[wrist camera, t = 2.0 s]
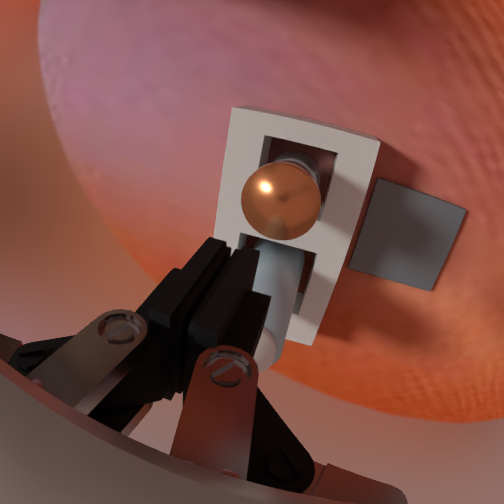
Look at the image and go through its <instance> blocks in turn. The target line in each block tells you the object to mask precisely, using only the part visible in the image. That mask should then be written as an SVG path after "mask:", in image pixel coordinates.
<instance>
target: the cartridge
mask: <svg viewBox="0 0 504 504" xmlns="http://www.w3.org/2000/svg"><path fill="white" fill-rule="evenodd" d="M253 249H256V250H260V256H259V261H258V266H257V271H256V275H255V280H254V285H253V290H252V291H255V292H259V293H262V294H266V295H269V296H272V297H271V302H270V306H269V309H268V313H267V317H266V321H265V324H264V327H263V331H262V334H261V337H260V340H259V343H258V346H257V349H256V352H255V355H254V360H255V362H256V364H257V365H258V372H261V371H264V370H266V369H267V368H269V367H270V366H271V365H273V364H274V363H275V362H276V361H277V360H278V359H279V358H280V356H281V353H282V349H283V345H284V342H285V338H286V334H287V330H288V326H289V323H290V319H291V315H292V311H293V307H294V303H295V299H296V295H297V291H298V287H299V283H300V279H301V275H302V270H303V266H304V262H305V255H304V251H303V249H300V248H296V247H292V246H289V245H285V244H281V243H278V242H274V241H270V240H267V239H263V238H260V239H259V240H258V241H257V242H256V243H255V245H254V247H253Z"/></svg>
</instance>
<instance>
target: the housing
mask: <svg viewBox="0 0 504 504" xmlns="http://www.w3.org/2000/svg"><path fill="white" fill-rule="evenodd" d="M272 137H276V138H281V139H285V140H289V141H294V142H298V143H302V144H306V145H310V146H314V147H318V148H322V149H325V150H329V151H333V152H337V154H336V158H335V162H334V166H333V170H332V174H331V177H330V181H329V185H328V189H327V193H326V196H325V200H324V204H323V206H320V211H319V215H318V218H317V220H316V222H315V224H314V225H313V227H312V228H311V229H310V230H309V231H308V232H307V233H305V234H304V235H302V236H300V237H298V238H295V239H292V240H274V239H271V238H268V237H265V236H263V235H261V234H260V233H258V232H257V231H256V230H255V229H254V228H253V227H252V226H251V225H250V224H249V223H248V221H247V220H246V218H245V216H244V214H243V211H242V206H241V194H242V189H243V187H244V184H245V183H246V181H247V180H248V178H249V177H250V176H251V175H252V174H253V173H254V172H255V171H256V170H257V169H259V168H260V167H262V166H264V165H266V164H267V162H268V157H269V151H270V146H271V141H272ZM380 143H381V142H380V141H379V140H378V139H377V138H376V137H375V136H372V135H368V134H365V133H362V132H358V131H355V130H351V129H348V128H344V127H340V126H337V125H333V124H329V123H325V122H321V121H317V120H313V119H309V118H305V117H300V116H296V115H292V114H287V113H282V112H277V111H272V110H267V109H262V108H257V107H251V106H236V107H232V112H231V118H230V124H229V131H228V137H227V144H226V150H225V157H224V164H223V171H222V178H221V185H220V192H219V199H218V207H217V215H216V222H215V230H214V238H215V239H219V240H223V241H226V243H227V246H228V247H231V255H232V253H233V252H234V250H235V249H239V250H241V249H242V247H243V246H245V247H246V241H247V236H248V235H252V236H256V237H259V238H263V239H267V240H270V241H274V242H278V243H281V244H285V245H289V246H292V247H296V248H300V249H303V250H307V251H310V252H314V253H316V254H315V257H314V261H313V264H312V267H311V270H310V274H309V277H308V280H307V283H306V286H305V289H304V293H303V294H302V293H299V292H297V295H296V299H295V303H294V307H293V311H292V315H291V319H290V323H289V326H288V330H287V334H286V338H285V339H288V340H291V341H295V342H299V343H302V344H306V345H310V346H311V345H312V343H313V340H314V338H315V336H316V333H317V331H318V328H319V326H320V323H321V321H322V318H323V316H324V313H325V311H326V308H327V306H328V303H329V300H330V298H331V295H332V292H333V290H334V287H335V284H336V282H337V279H338V276H339V273H340V271H341V268H342V265H343V262H344V259H345V257H346V254H347V251H348V248H349V245H350V242H351V239H352V236H353V233H354V230H355V227H356V224H357V221H358V218H359V215H360V212H361V208H362V205H363V202H364V199H365V196H366V192H367V189H368V186H369V182H370V179H371V175H372V172H373V168H374V165H375V161H376V158H377V154H378V150H379V147H380Z"/></svg>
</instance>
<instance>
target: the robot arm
mask: <svg viewBox="0 0 504 504" xmlns="http://www.w3.org/2000/svg"><path fill="white" fill-rule="evenodd" d="M259 256H260V250H256V249H252V248H248V247H245V246H243V247H242V249H241V250H239V249H235V250H234V252H233V253H232V255H231V247H228V246H227V243H226V241H223V240H219V239H215V238H212V237H209V238H208V239H207V240H206V241H205V242H204V244H203V245H202V246H201V247H200V248H199V249H198V251H197V252H196V253H195V254H194V255H193V256H192V258H191V259H190V260H189V261H188V262H187V264H186V265H185V266H184V267H183V268H182V269H178V268H174V269H172V270H171V271H170V272H169V273H168V275H167V276H166V277H165V278H164V279H163V280H162V281H161V283H160V284H159V285H158V286H157V287H156V288H155V290H154V291H153V292H152V293H151V294H150V295H149V296H148V298H147V299H146V300H145V301H144V302H143V304H142V305H141V306H140V307H139V308H138V309H137V311H136V312H132V311H130V310H123V309H119V310H112V311H108V312H105V313H104V314H102V315H101V316H99V317H98V318H96V319H95V320H94V321H92V322H91V323H90V324H89V325H88V326H86V327H85V328H84V329H82V330H81V331H80V332H79V333H78V334H77V335H73V336H67V337H61V338H55V339H49V340H43V341H37V342H31V343H27V344H24V345H23V344H22V341H19V340H16V339H13V338H11V337H8V336H5V335H3V334H0V504H408V502H407V499H406V497H405V495H404V494H403V492H402V491H401V490H400V489H398V488H396V487H394V486H392V485H389V484H385V483H382V482H379V481H376V480H372V479H370V478H366V477H364V476H361V475H358V474H355V473H352V472H350V471H347V470H344V469H342V468H339V467H336V466H334V465H331V464H329V463H328V464H327V465H326V466H325V465H322V464H320V463H317V462H315V461H313V460H312V458H311V456H310V454H309V453H308V452H307V450H306V449H305V448H304V447H303V445H302V444H301V443H300V442H299V441H298V439H297V438H296V437H295V435H294V434H293V433H292V432H291V430H290V429H289V428H288V426H287V425H286V424H285V423H284V421H283V420H282V419H281V417H280V416H279V415H278V413H277V412H276V411H275V409H274V408H273V407H272V405H271V404H270V403H269V401H268V400H267V399H266V398H265V396H264V395H263V393H262V392H261V391H260V389H259V388H258V387H257V384H258V375H259V372H258V365H257V364H256V362H255V360H254V355H255V352H256V349H257V346H258V343H259V340H260V337H261V334H262V331H263V327H264V324H265V321H266V317H267V313H268V309H269V306H270V302H271V297H272V296H269V295H266V294H262V293H259V292H255V291H252V290H253V285H254V280H255V275H256V271H257V266H258V261H259ZM182 391H183V409H182V412H181V416H180V419H179V422H178V426H177V429H176V433H175V437H174V440H173V444H172V447H171V451H170V454H169V455H168V454H166V453H163V452H160V451H158V450H156V449H154V448H151V447H149V446H147V445H144V444H142V443H140V442H137V441H135V440H133V439H131V438H129V437H128V436H129V435H130V433H131V432H132V431H133V430H134V429H135V427H136V426H137V425H138V424H139V422H140V421H141V420H142V419H143V418H144V417H145V415H146V414H147V413H148V412H149V411H150V409H151V407H152V405H153V402H155V401H159V400H162V398H165V399H168V400H171V399H172V398H173V396H174V394H175V392H177V393H179V394H180V393H182Z"/></svg>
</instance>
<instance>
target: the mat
mask: <svg viewBox="0 0 504 504" xmlns="http://www.w3.org/2000/svg"><path fill="white" fill-rule="evenodd" d="M465 212H466V209H465V208H462V207H460V206H457V205H455V204H452V203H449V202H447V201H444V200H441V199H439V198H436V197H433V196H431V195H428V194H425V193H422V192H419V191H417V190H414V189H411V188H408V187H405V186H402V185H399V184H396V183H393V182H390V181H387V180H384V179H380V178H377V181H376V184H375V187H374V190H373V194H372V197H371V200H370V203H369V206H368V210H367V213H366V216H365V219H364V222H363V225H362V228H361V231H360V234H359V237H358V240H357V243H356V245H355V248H354V251H353V254H352V257H351V259H350V262H349V265H348V268H349V269H353V270H356V271H360V272H363V273H367V274H370V275H374V276H377V277H381V278H384V279H388V280H391V281H395V282H398V283H402V284H405V285H409V286H412V287H416V288H419V289H423V290H426V291H430V290H431V288H432V286H433V284H434V282H435V280H436V278H437V276H438V274H439V272H440V270H441V268H442V266H443V264H444V262H445V259H446V257H447V255H448V253H449V251H450V248H451V246H452V244H453V241H454V239H455V237H456V234H457V232H458V230H459V227H460V225H461V222H462V220H463V217H464V215H465Z"/></svg>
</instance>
